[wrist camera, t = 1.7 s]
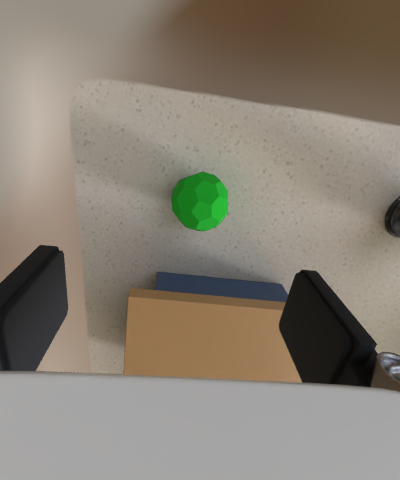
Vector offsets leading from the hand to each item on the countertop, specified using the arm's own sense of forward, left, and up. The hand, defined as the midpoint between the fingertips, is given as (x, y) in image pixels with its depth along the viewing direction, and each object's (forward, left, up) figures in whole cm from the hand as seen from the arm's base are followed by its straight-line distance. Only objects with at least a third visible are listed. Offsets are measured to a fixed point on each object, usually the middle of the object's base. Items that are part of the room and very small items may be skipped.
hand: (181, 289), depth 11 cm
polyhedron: (+2, 0, -16) cm, 16 cm away
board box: (+6, -15, -16) cm, 23 cm away
